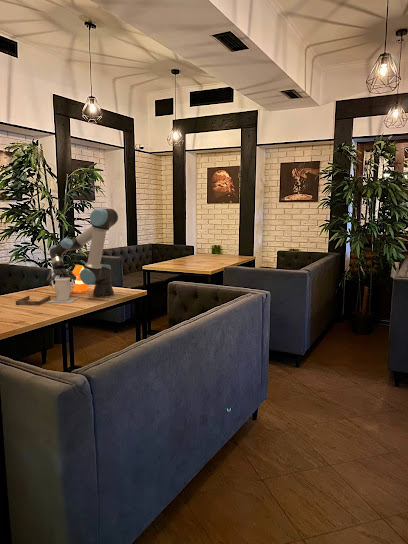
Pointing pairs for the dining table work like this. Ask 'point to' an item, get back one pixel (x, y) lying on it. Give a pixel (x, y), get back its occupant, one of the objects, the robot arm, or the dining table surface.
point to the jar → (62, 288)
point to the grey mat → (64, 301)
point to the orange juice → (78, 282)
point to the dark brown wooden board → (25, 302)
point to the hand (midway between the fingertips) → (63, 288)
